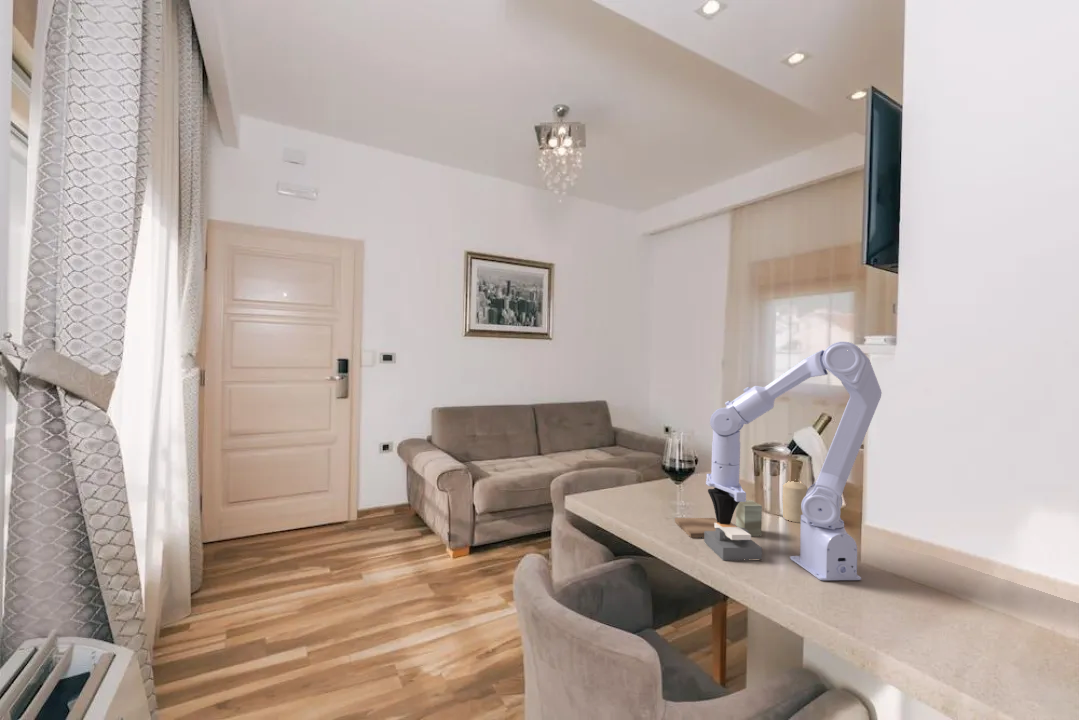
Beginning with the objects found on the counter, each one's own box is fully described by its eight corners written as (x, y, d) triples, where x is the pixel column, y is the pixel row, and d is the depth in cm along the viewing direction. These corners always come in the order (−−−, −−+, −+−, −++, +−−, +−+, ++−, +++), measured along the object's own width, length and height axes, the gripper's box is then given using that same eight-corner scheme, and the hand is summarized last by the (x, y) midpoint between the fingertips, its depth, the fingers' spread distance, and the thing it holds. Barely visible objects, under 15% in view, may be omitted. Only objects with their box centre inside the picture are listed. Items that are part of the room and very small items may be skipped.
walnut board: (733, 537, 102) (733, 533, 102) (690, 537, 102) (690, 533, 102) (714, 522, 112) (714, 518, 112) (675, 522, 112) (675, 518, 112)
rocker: (751, 539, 91) (751, 534, 91) (731, 539, 91) (731, 534, 91) (732, 527, 99) (732, 522, 99) (714, 527, 99) (714, 522, 99)
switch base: (761, 560, 91) (762, 537, 91) (723, 560, 90) (723, 537, 90) (739, 542, 100) (739, 521, 100) (704, 542, 99) (704, 521, 99)
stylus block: (761, 536, 104) (761, 505, 104) (744, 536, 103) (744, 505, 103) (752, 529, 108) (752, 500, 108) (735, 529, 107) (736, 500, 107)
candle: (805, 524, 112) (806, 484, 112) (780, 519, 115) (781, 480, 115) (808, 518, 116) (808, 480, 116) (784, 514, 119) (784, 476, 119)
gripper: (694, 454, 106) (692, 512, 106) (723, 470, 91) (720, 537, 91) (723, 455, 106) (721, 512, 106) (756, 471, 92) (754, 537, 92)
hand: (723, 524), depth 99 cm, fingers closed, pressing on rocker
